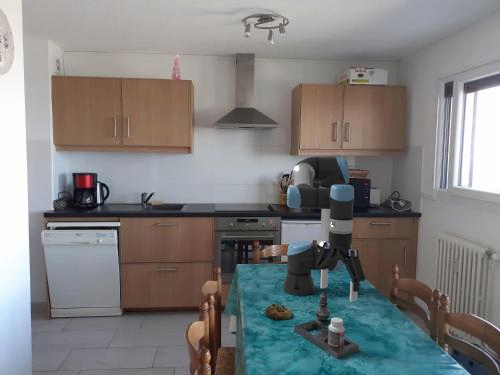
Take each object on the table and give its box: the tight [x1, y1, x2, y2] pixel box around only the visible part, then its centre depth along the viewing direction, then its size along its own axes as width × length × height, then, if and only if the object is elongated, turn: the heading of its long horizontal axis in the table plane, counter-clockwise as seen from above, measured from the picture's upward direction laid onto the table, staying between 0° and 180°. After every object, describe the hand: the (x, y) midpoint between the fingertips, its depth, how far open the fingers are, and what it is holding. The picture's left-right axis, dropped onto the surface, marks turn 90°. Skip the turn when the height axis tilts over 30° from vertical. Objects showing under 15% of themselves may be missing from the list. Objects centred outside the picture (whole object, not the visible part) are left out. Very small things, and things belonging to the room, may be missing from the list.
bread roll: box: [264, 303, 292, 321], centre depth 153 cm, size 11×11×5 cm
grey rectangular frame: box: [293, 319, 360, 360], centre depth 132 cm, size 22×10×2 cm, turn 32°
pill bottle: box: [328, 317, 346, 349], centre depth 127 cm, size 5×5×10 cm
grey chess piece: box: [314, 291, 331, 326], centre depth 147 cm, size 6×6×12 cm
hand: (338, 293), depth 126 cm, fingers open, 13 cm apart
